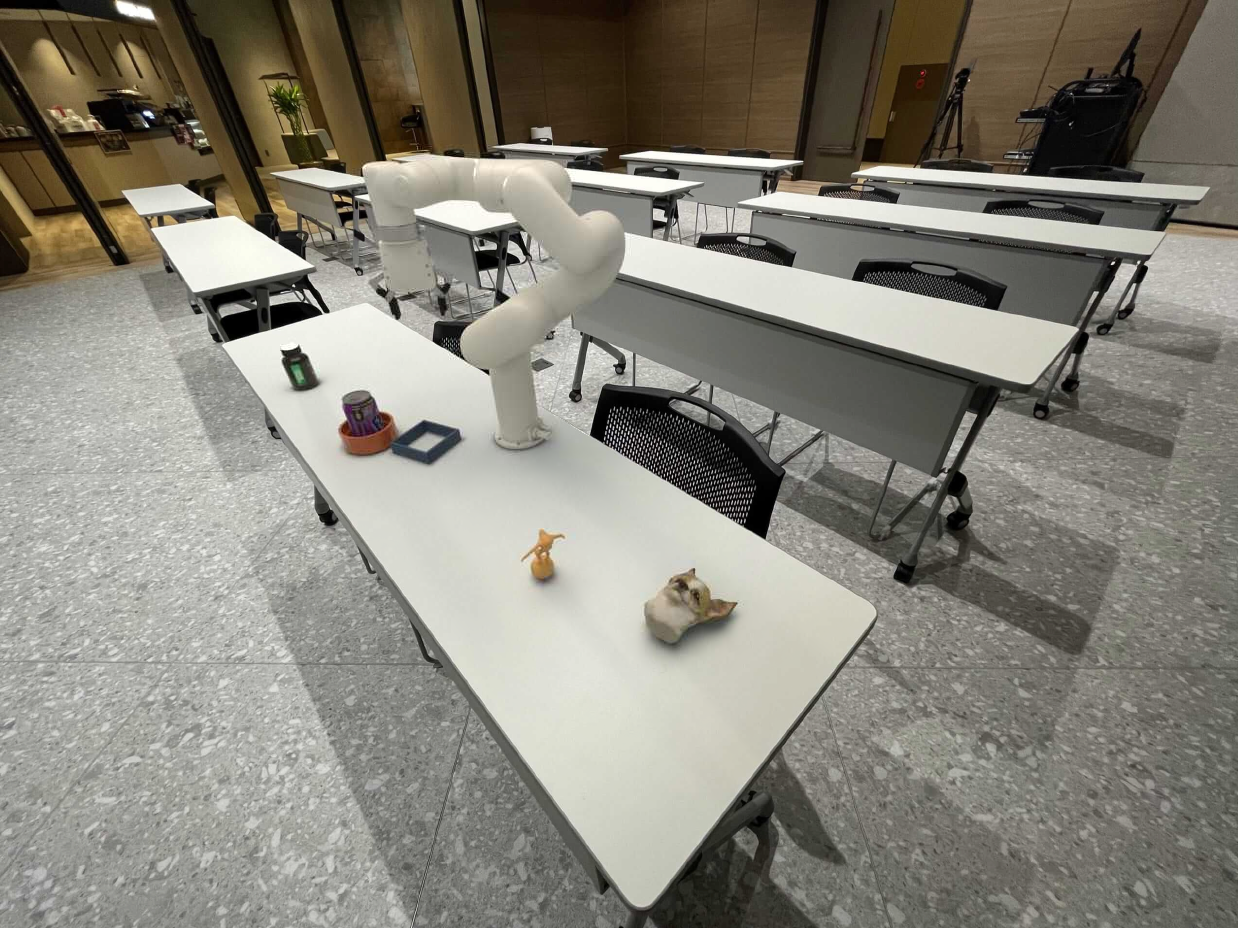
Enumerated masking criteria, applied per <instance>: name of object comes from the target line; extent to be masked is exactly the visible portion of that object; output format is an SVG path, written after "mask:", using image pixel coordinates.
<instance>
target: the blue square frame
mask: <svg viewBox="0 0 1238 928" xmlns="http://www.w3.org/2000/svg"><path fill="white" fill-rule="evenodd" d="M427 432H428V433H432V434H435V435H438V436H442V437H444V438H443V439H441V440H440V441H438V442H437V443H436V444H434V445H433V446H432V447H431V448H429V449H428V450H427V451H425V450H421V449H418V448H415V447H411V446H408V445H410V444H411V443H412V442H414V441H416V440H417V439H418V438H419V437H421V436H422V435H424V434H426V433H427ZM460 441H462V435H461V432H460V428H456V427H452V426H449V425H445V424H441V423H438V422H434V421H430V420H427V419H423V420H420V421H419V422H418V423H416V424H415V425H413V426H412V427H410V428H408V429H407V430H406V431H404V432H403V433H401V434H400V435H398V437H397V438H396V439H394V440H393V441H391V442H390V445H391V446H390V448H391V451H392V454H395V455H398V456H401V457H404V458H408V459H411V460H414V461H417V462H420V463H424V464H427V465H430V464H432V463H433V462H435V461H436V460H437V459H439V458H440V457H441V456H443V455H444V454H445V453H446V452H448V451H449V450H450V449H451V448H453V447H454V446H456V444H458V443H459V442H460Z"/></svg>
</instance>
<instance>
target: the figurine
mask: <svg viewBox="0 0 1238 928" xmlns="http://www.w3.org/2000/svg"><path fill="white" fill-rule="evenodd" d="M538 536H539V539H538V540H537V542H536V544H535V545H534V546H533V547H531V549H530V550H529V551H528V552H527V553H526V554H525V555H524V556H523V557H522V558H521V560H520V562H521V563H523V562H524V560H525V559H527V558H528V557H530V555H531V554H534V555H535V557H534V558H533V559H532V561H531V563H530V571H531V572H530V573H531V574H532V576H533V577H535V578H537V579H539V580H540V579H541V580H544V579H547V578H549V577H550V576H551V575H553V573H554V570H555V564H554V561H553V559H552V558H551V557H550V556H551V555H550V554H551V553H550V550H551V549H553V544H554V540H556V539H560V538H561V539H564V540H565V535H564V534H563V533H556V534H549V533H547V532H546V531H545V530H544V529H541V528H540V529H539V531H538ZM543 553H545V554H543Z"/></svg>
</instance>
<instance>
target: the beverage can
mask: <svg viewBox="0 0 1238 928" xmlns="http://www.w3.org/2000/svg"><path fill="white" fill-rule="evenodd" d="M341 402H342V405H341V408H342V410H343V413H344V415H345V418H346V420H347V421H348V423H349V426H350V428H351V431H352V433H353V436H354V437H363V436H368V435H372V434H375V433H377V432H379V431H381V430H383V429H384V428H385V427H384V424H383V421H382V418H381V415H380V412H381V411H380V410H379V407H378V404H377V401H376V398H375V397H374V396H372V394H371V392H370V391H369V390H366V389H359V390H358V389H357V390H353V391H350V392H348V393H346V394H344V395H343V396H342V397H341ZM379 411H380V412H379Z"/></svg>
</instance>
